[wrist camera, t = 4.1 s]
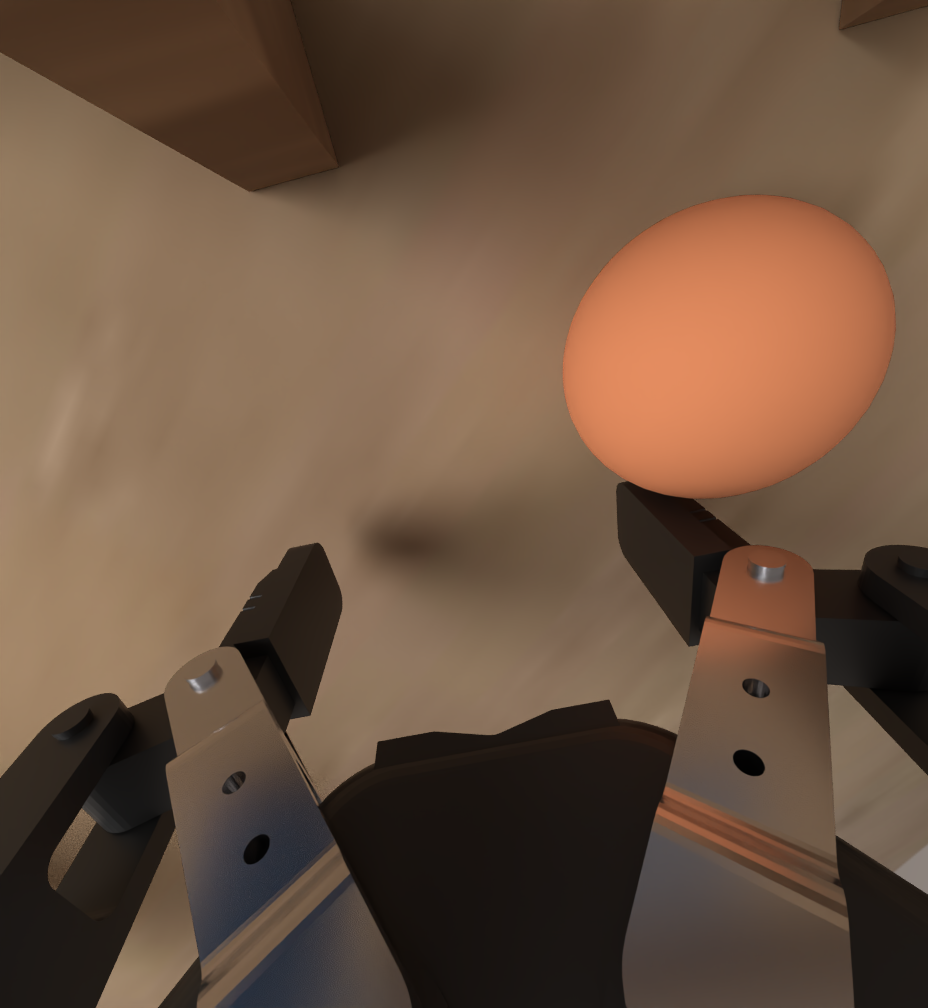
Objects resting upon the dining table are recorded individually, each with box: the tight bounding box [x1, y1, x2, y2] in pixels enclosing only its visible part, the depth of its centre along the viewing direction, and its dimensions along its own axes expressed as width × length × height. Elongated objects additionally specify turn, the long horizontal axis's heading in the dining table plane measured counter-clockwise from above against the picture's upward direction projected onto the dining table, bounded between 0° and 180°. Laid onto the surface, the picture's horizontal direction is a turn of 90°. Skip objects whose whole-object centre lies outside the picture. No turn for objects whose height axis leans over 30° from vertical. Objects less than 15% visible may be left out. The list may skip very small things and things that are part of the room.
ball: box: [563, 195, 896, 499], centre depth 9 cm, size 6×6×6 cm
